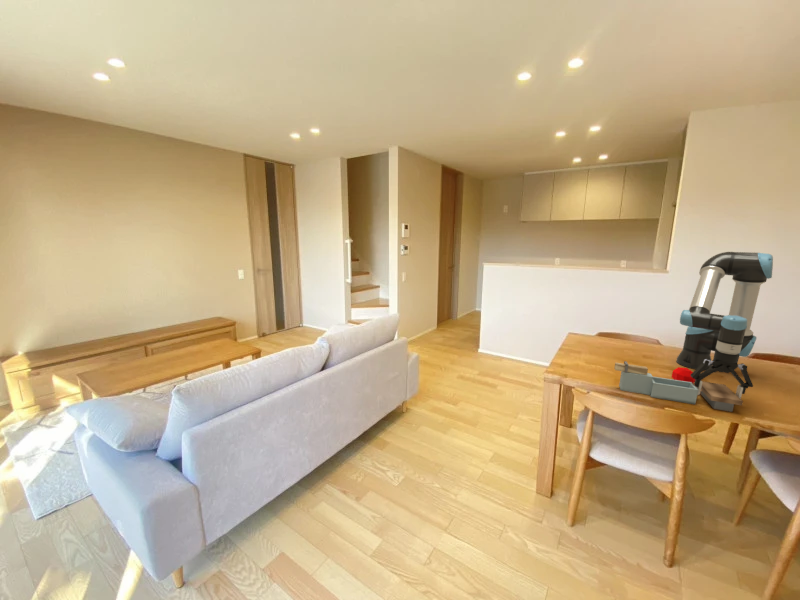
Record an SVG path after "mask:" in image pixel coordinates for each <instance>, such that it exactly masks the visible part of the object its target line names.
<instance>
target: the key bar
mask: <svg viewBox="0 0 800 600" xmlns="http://www.w3.org/2000/svg"><path fill="white" fill-rule="evenodd" d="M625 366H626V365H625V364H624V363H621V362H615V363H614V370H615V371H619V372H621V371H624V372H625ZM648 371H649V368H648V367H647V366H643V365H636V364H629V363H628V371H627V372H630V373H637V374H644V375H647V373H649V372H648Z"/></svg>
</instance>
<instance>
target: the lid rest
mask: <svg viewBox="0 0 800 600" xmlns="http://www.w3.org/2000/svg"><path fill="white" fill-rule="evenodd" d="M700 395H701V396H702V397H703V398H704V399H705V401H706V402H707V403H708V404H709V405H710V406H711V408H712V409H714V410H718V411H725V412H731V413H733V411H734V406H735V404H730V403H724V402H718V401H712V400H710V399H709V398H708V397H707V396H706V395H705V394H704V392H703V391H702V390H701V391H700Z"/></svg>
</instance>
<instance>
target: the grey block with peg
mask: <svg viewBox="0 0 800 600" xmlns="http://www.w3.org/2000/svg"><path fill="white" fill-rule="evenodd" d="M623 364H625V365H626V366H625V372H624V371H620V379H619V383H618V387H620V388H619V390H620V391H623V392H630V393H636V394H641V395H648V396H650V391H651V386H652V380H653V377H654V376H653V375H652V373H650V372H647V375H644V374H637V373H630V372H627V371H628V364H629V363H628V361H626V360H625V361H623Z"/></svg>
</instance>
